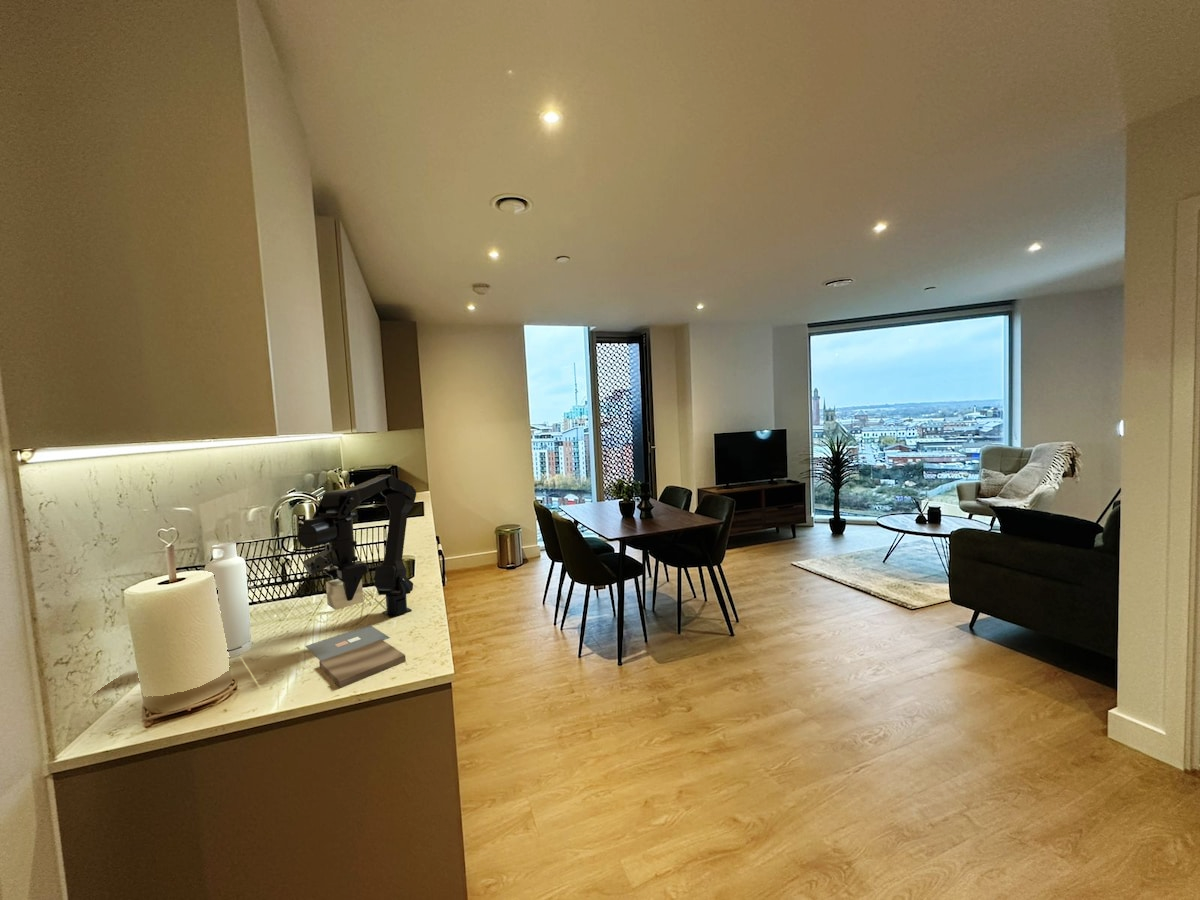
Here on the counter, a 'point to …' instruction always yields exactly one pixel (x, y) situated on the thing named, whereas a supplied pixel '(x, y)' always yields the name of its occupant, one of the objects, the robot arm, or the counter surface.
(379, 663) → the walnut pad
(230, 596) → the bottle
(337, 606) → the oak block
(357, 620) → the counter surface
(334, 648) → the tile
